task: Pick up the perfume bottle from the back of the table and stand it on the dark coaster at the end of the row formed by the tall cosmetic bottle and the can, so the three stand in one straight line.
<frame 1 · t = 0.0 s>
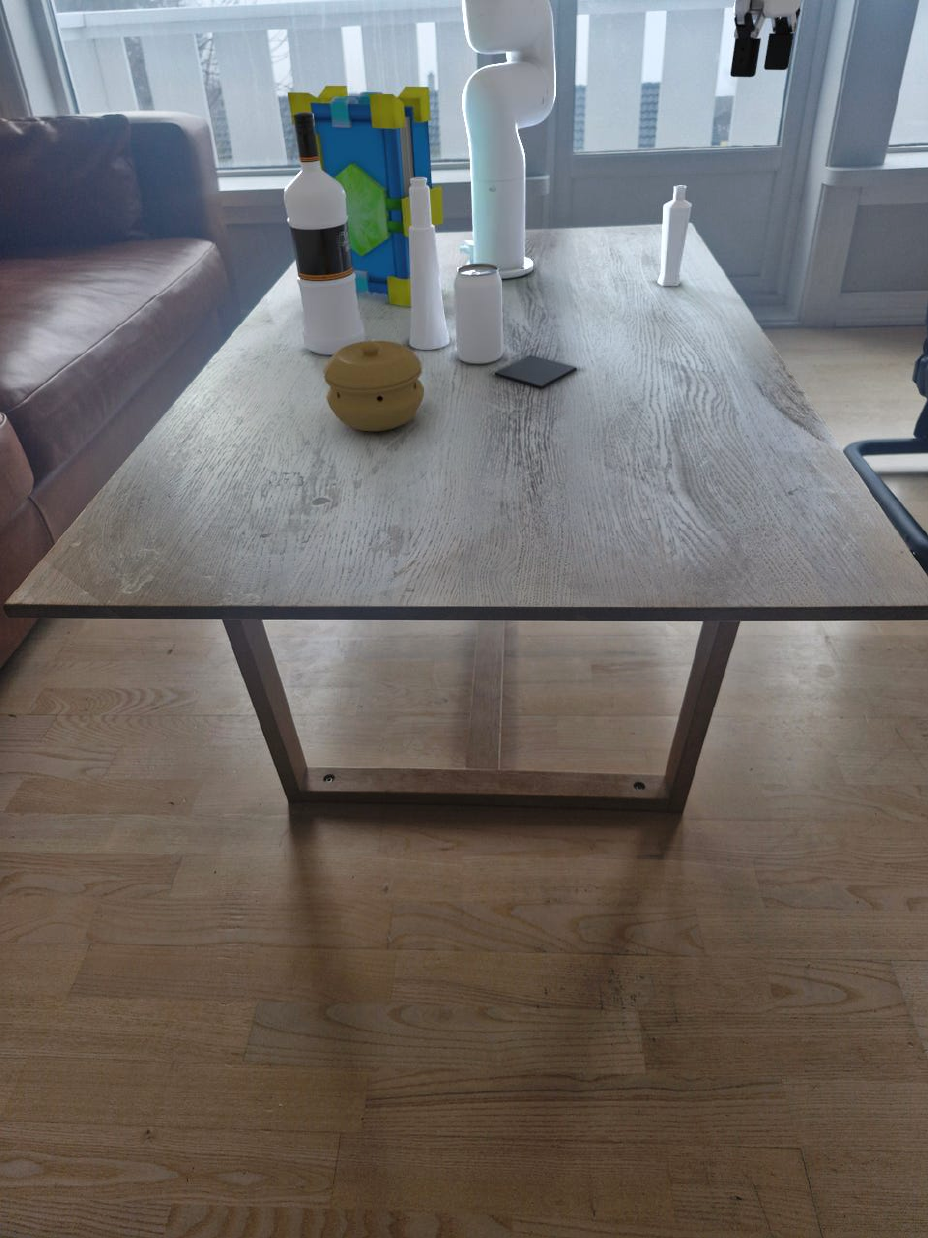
hand: (759, 72, 105), 31 cm above the table, tool pointing down, fingers open, 9 cm apart
vodka: (336, 347, 120), on the table
cosmetic bottle: (429, 344, 119), on the table
coaster: (535, 372, 109), on the table
pot: (378, 423, 98), on the table
perfume bottle: (668, 284, 138), on the table
decorative book: (377, 292, 141), on the table
can: (480, 358, 114), on the table
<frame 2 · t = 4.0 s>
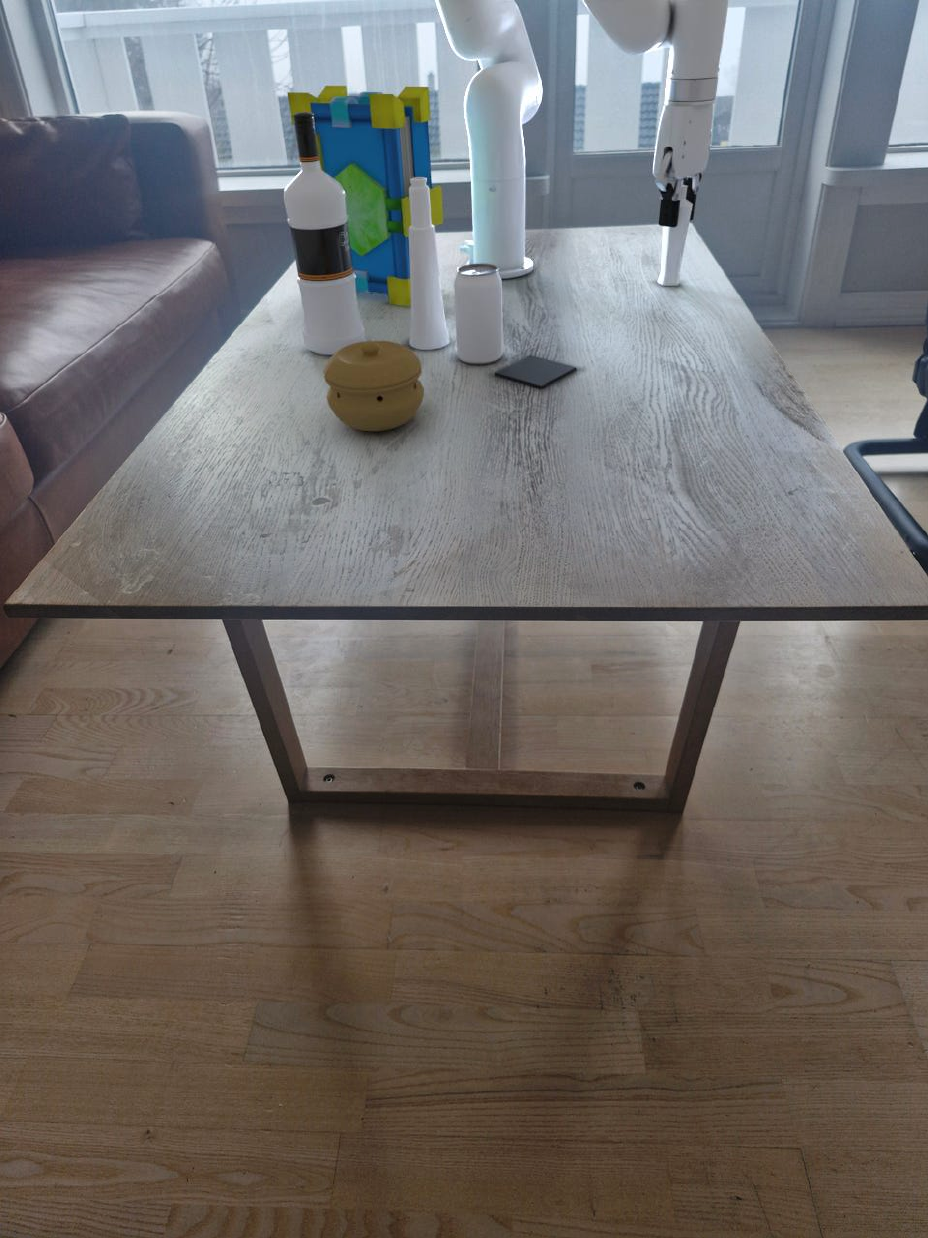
hand: (676, 221, 132), 10 cm above the table, tool pointing down, fingers closed on perfume bottle, 4 cm apart
perfume bottle: (668, 283, 138), on the table, touching gripper
everything else where it was.
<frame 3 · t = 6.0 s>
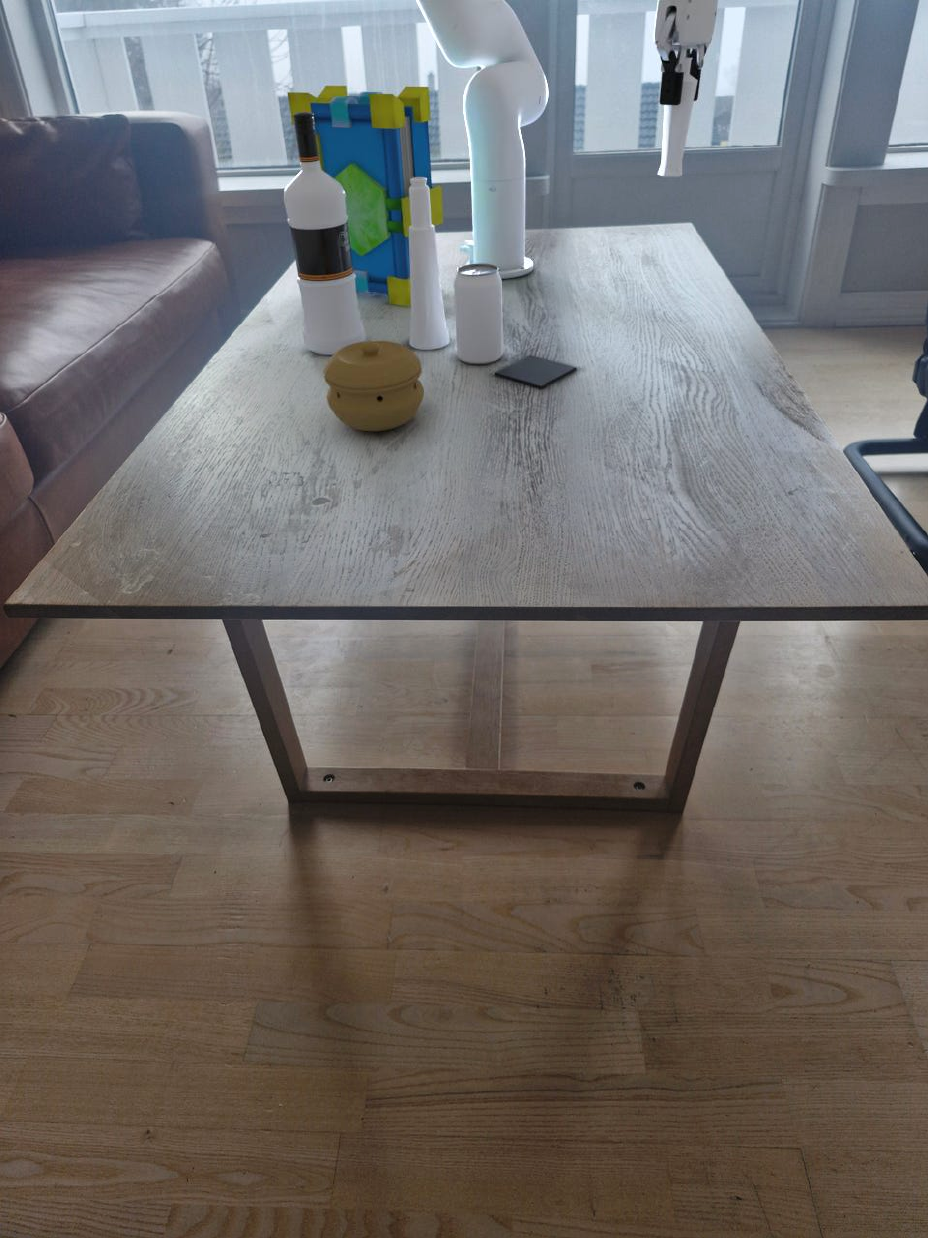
hand: (678, 100, 118), 27 cm above the table, tool pointing down, fingers closed on perfume bottle, 4 cm apart
perfume bottle: (670, 175, 125), point 17 cm above the table, touching gripper
everything else where it was.
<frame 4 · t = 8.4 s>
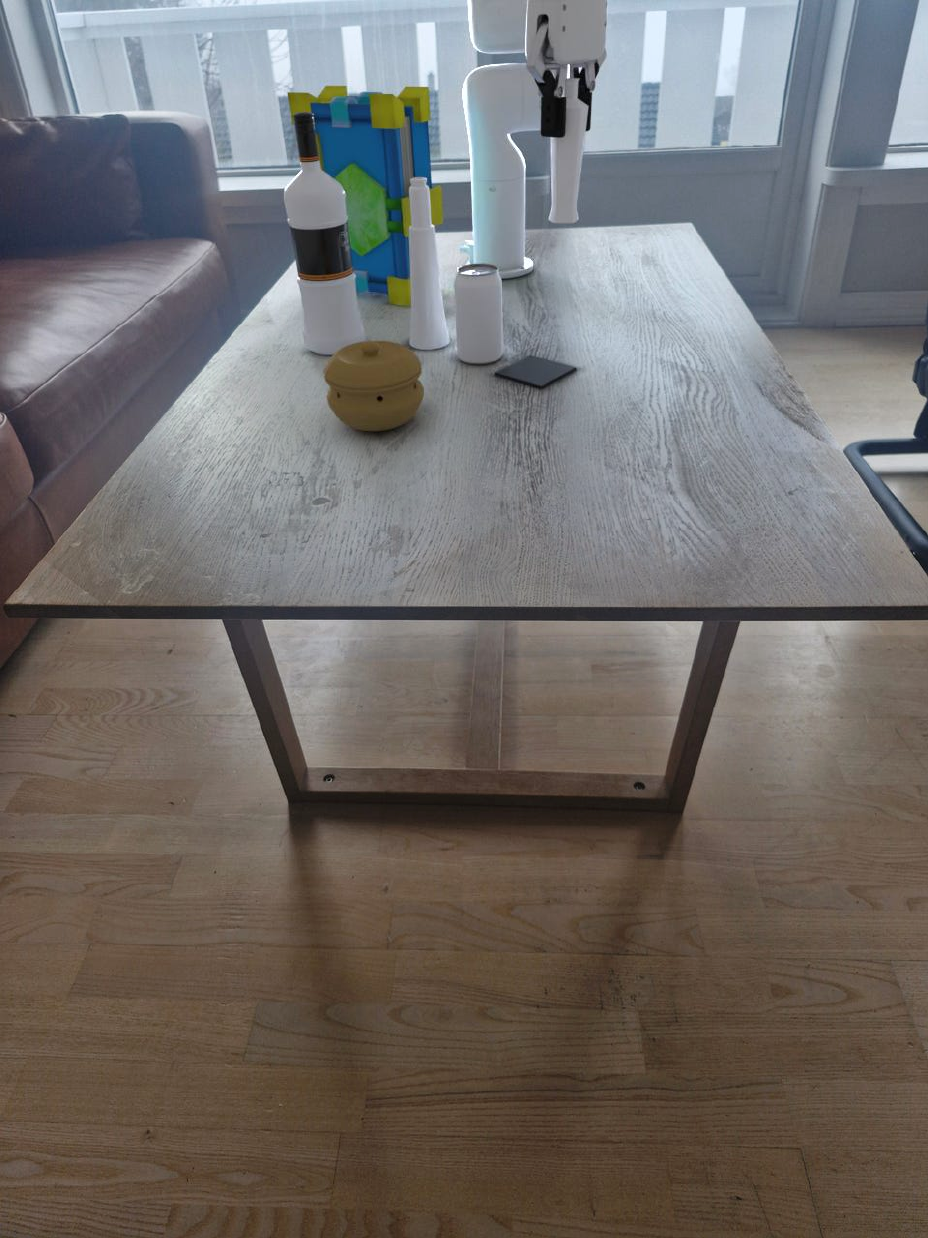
hand: (565, 131, 95), 28 cm above the table, tool pointing down, fingers closed on perfume bottle, 4 cm apart
perfume bottle: (563, 221, 102), point 18 cm above the table, touching gripper
everything else where it was.
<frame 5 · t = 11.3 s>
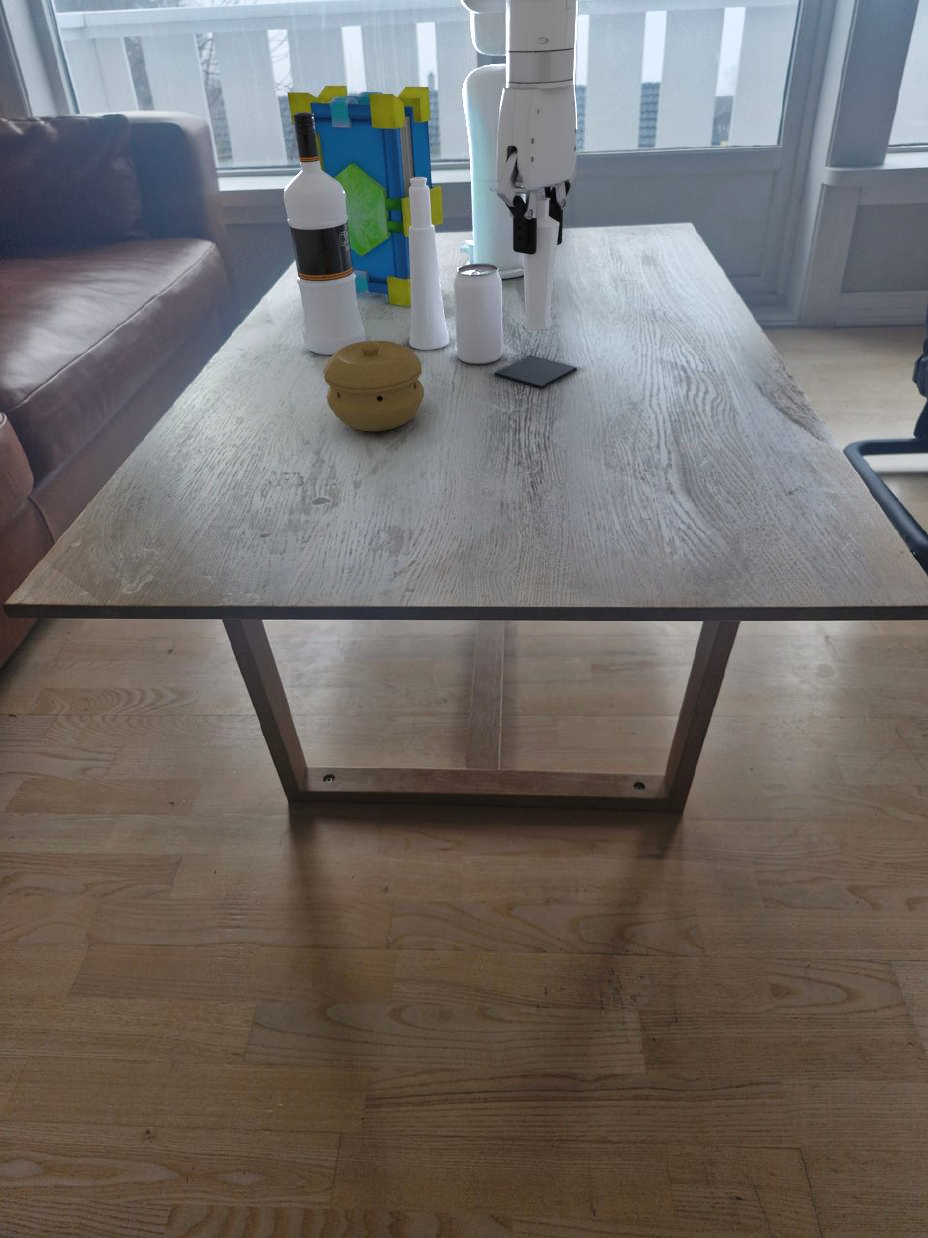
hand: (537, 246, 99), 16 cm above the table, tool pointing down, fingers closed on perfume bottle, 4 cm apart
perfume bottle: (537, 326, 105), point 6 cm above the table, touching gripper
everything else where it was.
when the fingers open (10 cm above the table, at t = 13.1 s): perfume bottle stays where it is, resting on coaster.
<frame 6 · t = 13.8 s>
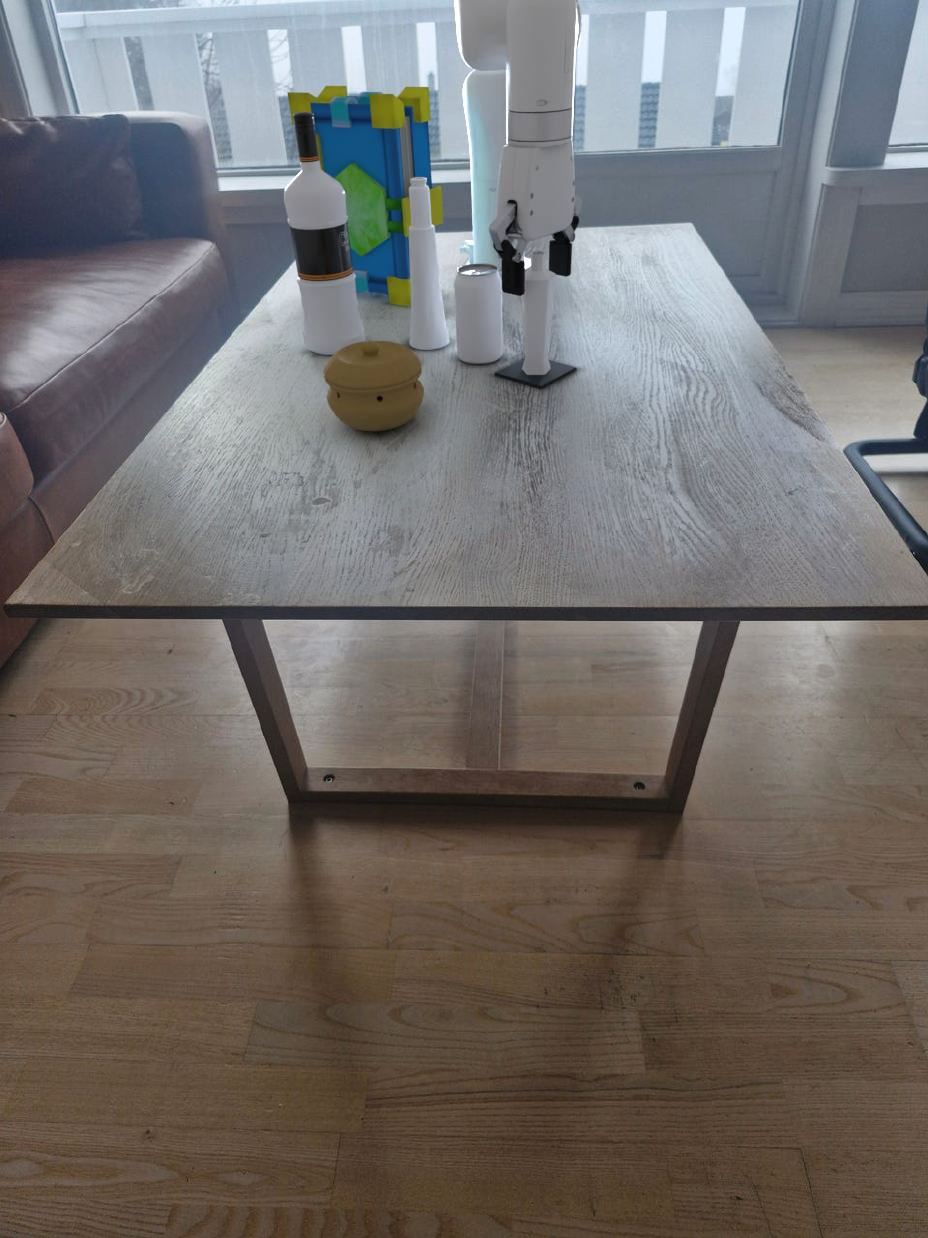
hand: (537, 283, 101), 12 cm above the table, tool pointing down, fingers open, 9 cm apart
perfume bottle: (536, 370, 108), resting on coaster
everything else where it was.
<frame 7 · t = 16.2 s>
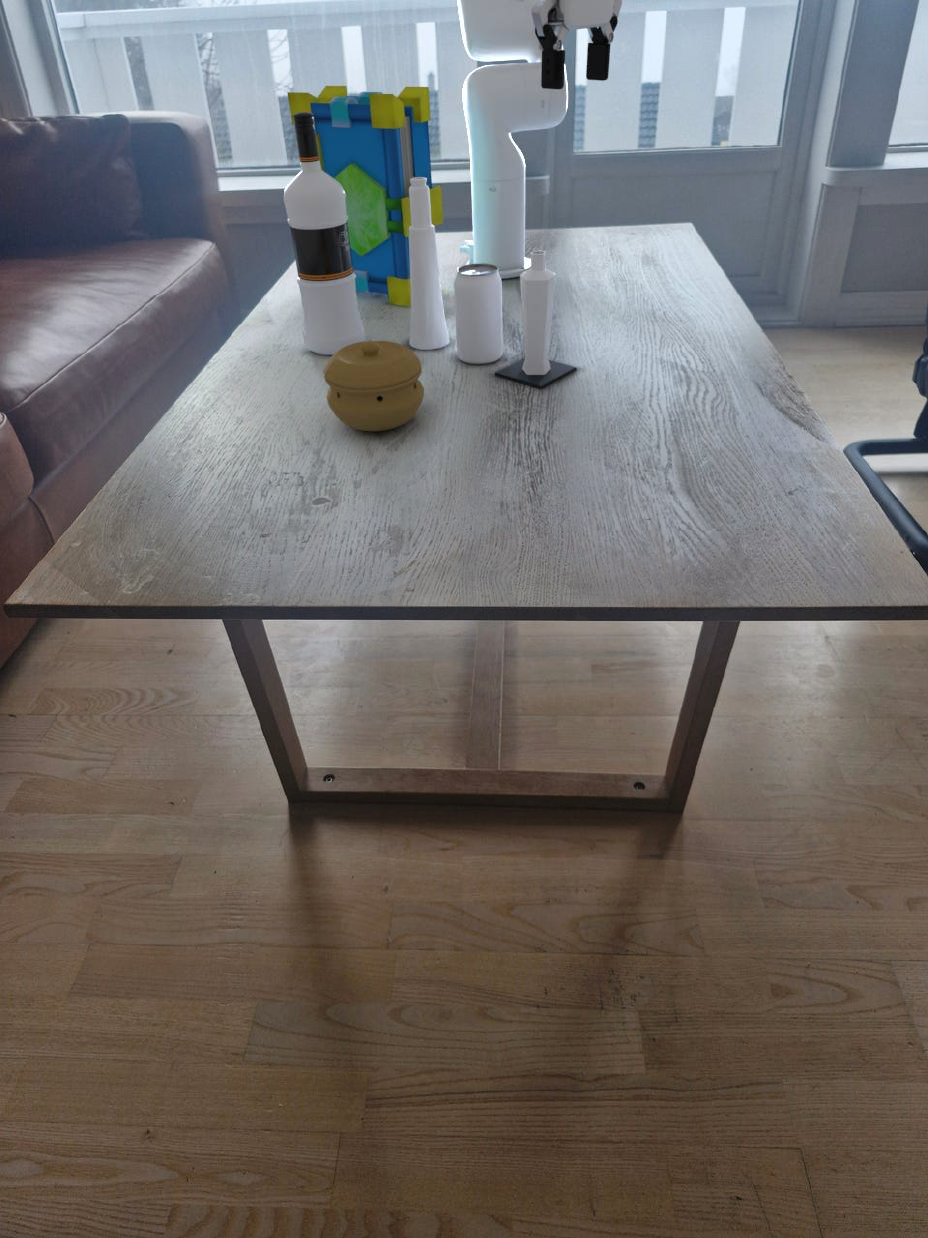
hand: (575, 83, 103), 31 cm above the table, tool pointing down, fingers open, 9 cm apart
nothing on the table moved.
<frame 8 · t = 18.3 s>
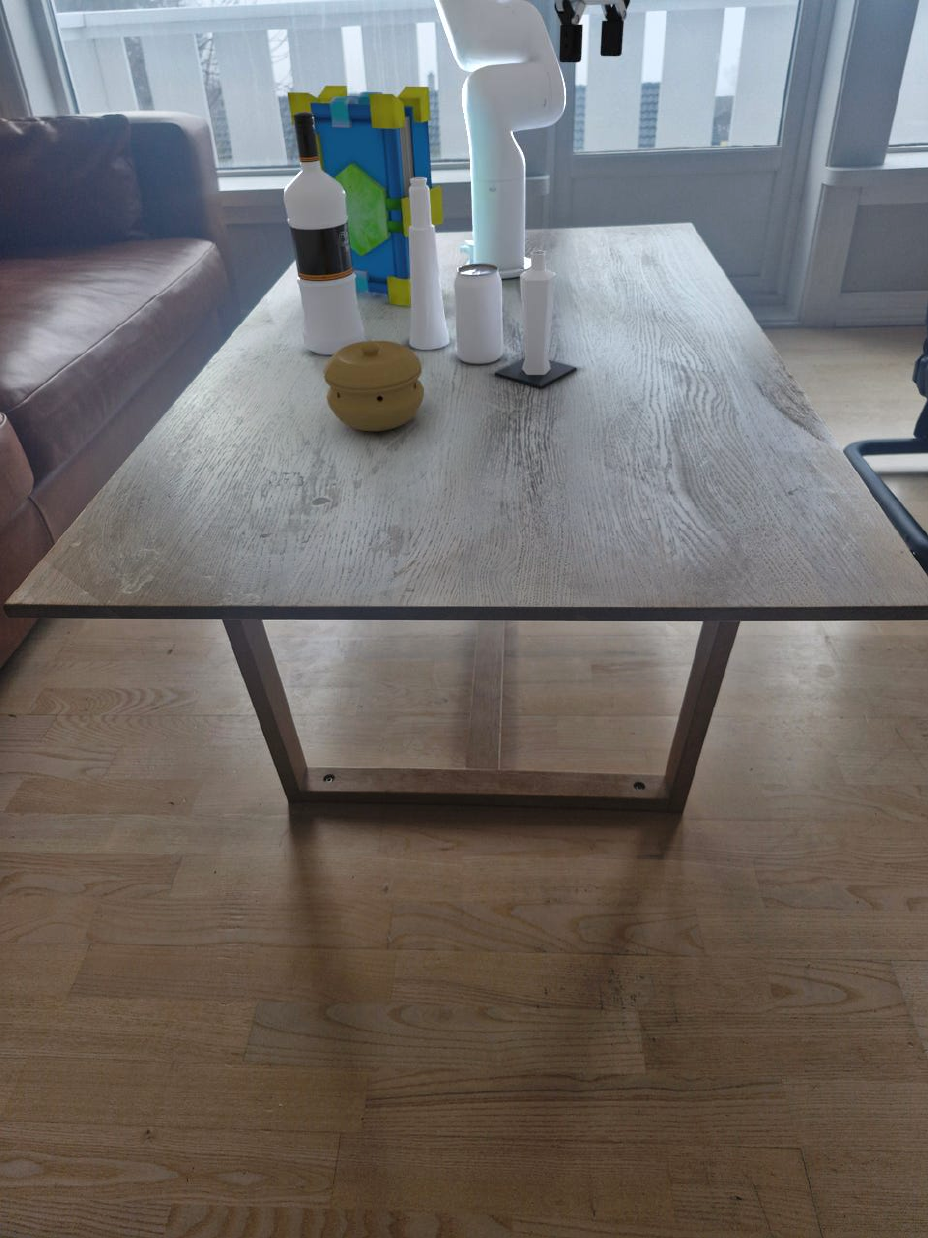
hand: (590, 58, 109), 33 cm above the table, tool pointing down, fingers open, 9 cm apart
nothing on the table moved.
at the end: perfume bottle 0.1 cm from the target spot on the table beside the can, resting on coaster; perfume bottle tilted 0°; the gripper is holding nothing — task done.
